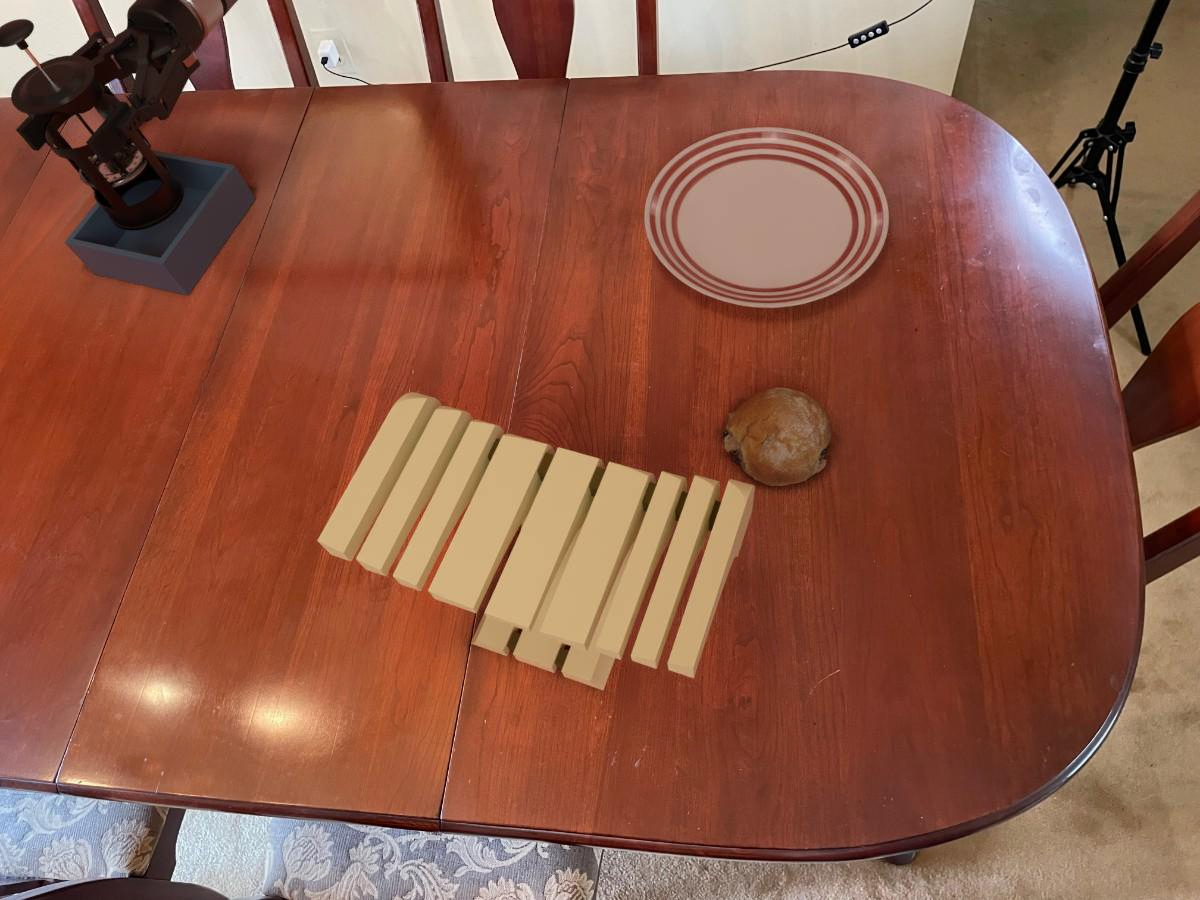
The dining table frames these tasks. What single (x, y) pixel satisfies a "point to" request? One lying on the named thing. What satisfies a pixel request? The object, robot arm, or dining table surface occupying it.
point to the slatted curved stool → (541, 539)
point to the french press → (78, 90)
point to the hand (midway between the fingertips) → (61, 146)
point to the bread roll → (779, 436)
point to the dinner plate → (766, 217)
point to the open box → (168, 228)
